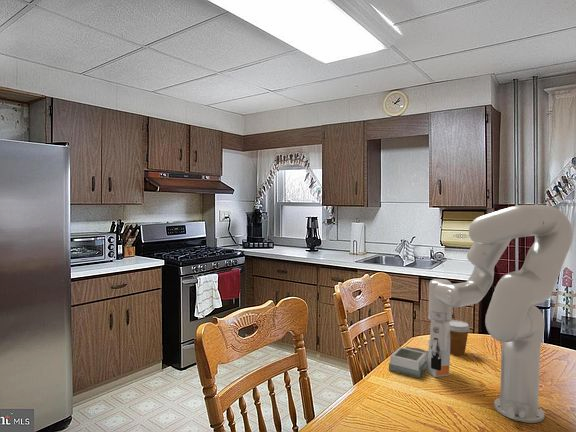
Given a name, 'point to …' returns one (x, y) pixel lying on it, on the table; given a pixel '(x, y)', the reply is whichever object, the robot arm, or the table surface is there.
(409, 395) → the table surface
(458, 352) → the disposable coffee cup
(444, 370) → the skincare box
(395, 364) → the divided tray with ball
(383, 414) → the table surface
